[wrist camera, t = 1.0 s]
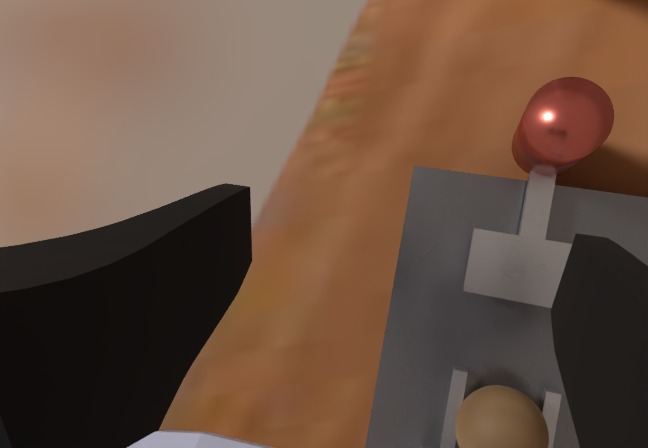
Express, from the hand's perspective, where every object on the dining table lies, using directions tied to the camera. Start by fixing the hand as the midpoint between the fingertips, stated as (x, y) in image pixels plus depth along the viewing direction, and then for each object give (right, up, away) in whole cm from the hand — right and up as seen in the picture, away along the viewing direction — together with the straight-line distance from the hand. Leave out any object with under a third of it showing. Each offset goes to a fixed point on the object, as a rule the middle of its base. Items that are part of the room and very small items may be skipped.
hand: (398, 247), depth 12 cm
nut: (+6, -8, +11) cm, 15 cm away
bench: (+7, -6, +12) cm, 15 cm away
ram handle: (+8, +1, +11) cm, 13 cm away
